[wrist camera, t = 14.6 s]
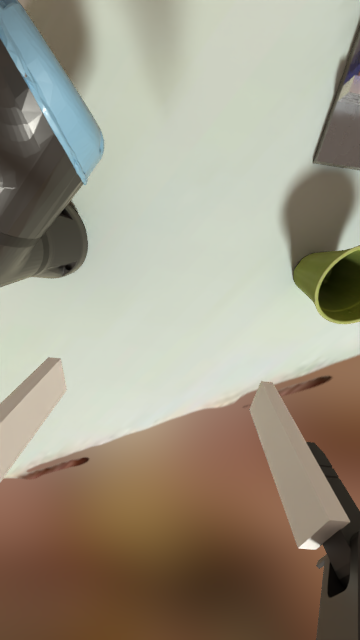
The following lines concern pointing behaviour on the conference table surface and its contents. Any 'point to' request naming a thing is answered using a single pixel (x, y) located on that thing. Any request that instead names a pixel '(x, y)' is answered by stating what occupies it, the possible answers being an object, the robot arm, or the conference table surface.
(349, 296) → the plant pot
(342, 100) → the grey tray
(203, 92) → the conference table surface
